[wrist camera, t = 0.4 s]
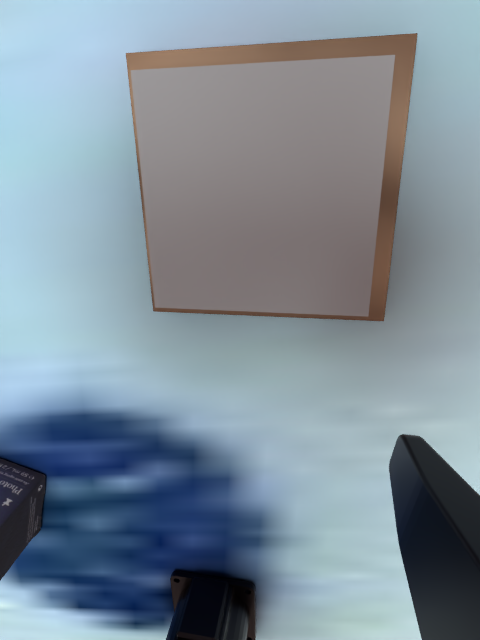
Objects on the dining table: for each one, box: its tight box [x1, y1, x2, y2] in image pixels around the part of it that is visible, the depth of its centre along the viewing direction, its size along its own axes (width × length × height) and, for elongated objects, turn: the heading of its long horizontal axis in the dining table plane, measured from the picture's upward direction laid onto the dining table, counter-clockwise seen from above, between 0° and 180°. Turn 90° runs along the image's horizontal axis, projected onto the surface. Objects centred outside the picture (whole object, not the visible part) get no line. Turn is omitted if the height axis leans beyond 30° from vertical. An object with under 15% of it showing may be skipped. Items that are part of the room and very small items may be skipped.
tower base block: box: [126, 33, 417, 321], centre depth 20 cm, size 12×12×2 cm
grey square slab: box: [131, 55, 395, 317], centre depth 18 cm, size 10×10×2 cm
